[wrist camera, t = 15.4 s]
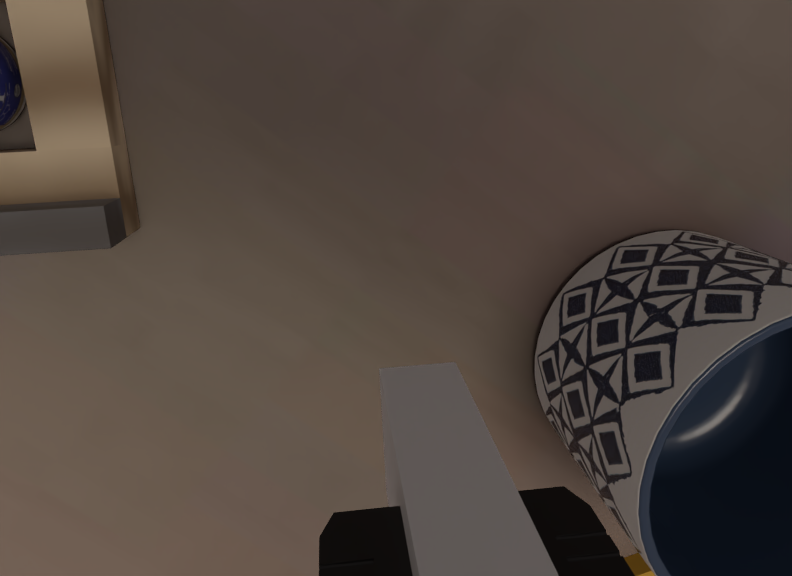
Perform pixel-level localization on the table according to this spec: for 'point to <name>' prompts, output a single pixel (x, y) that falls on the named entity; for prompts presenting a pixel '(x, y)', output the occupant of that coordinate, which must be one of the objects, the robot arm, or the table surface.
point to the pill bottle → (10, 86)
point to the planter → (680, 398)
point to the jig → (66, 135)
